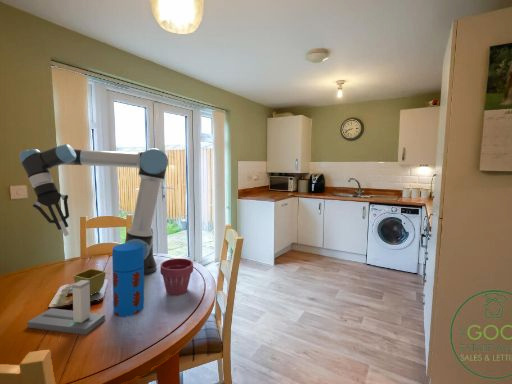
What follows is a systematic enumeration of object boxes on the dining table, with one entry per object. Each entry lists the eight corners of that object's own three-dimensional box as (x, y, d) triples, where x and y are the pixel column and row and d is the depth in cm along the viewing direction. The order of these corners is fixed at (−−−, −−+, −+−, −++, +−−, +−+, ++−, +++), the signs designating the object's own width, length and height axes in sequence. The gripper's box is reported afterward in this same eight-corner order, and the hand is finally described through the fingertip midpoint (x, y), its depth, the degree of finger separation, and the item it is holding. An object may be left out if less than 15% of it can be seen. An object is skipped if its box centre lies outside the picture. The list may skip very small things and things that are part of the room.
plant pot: (196, 294, 118) (197, 266, 117) (163, 301, 111) (163, 271, 110) (188, 282, 131) (188, 256, 130) (157, 287, 124) (157, 260, 123)
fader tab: (73, 321, 91) (71, 284, 90) (82, 315, 95) (81, 279, 94) (81, 322, 91) (80, 285, 90) (90, 316, 95) (89, 280, 94)
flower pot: (106, 291, 119) (106, 271, 118) (88, 299, 111) (88, 278, 110) (91, 287, 122) (91, 268, 121) (73, 296, 114) (72, 275, 113)
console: (27, 327, 91) (27, 321, 91) (51, 313, 100) (51, 307, 100) (85, 334, 88) (85, 328, 88) (105, 319, 97) (104, 314, 97)
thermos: (123, 320, 97) (122, 252, 95) (107, 311, 103) (106, 247, 100) (149, 307, 106) (149, 245, 104) (133, 299, 112) (132, 241, 110)
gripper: (61, 182, 122) (83, 229, 123) (25, 192, 114) (49, 242, 115) (61, 178, 116) (84, 228, 117) (23, 188, 108) (48, 241, 109)
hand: (66, 235), depth 116 cm, fingers closed
